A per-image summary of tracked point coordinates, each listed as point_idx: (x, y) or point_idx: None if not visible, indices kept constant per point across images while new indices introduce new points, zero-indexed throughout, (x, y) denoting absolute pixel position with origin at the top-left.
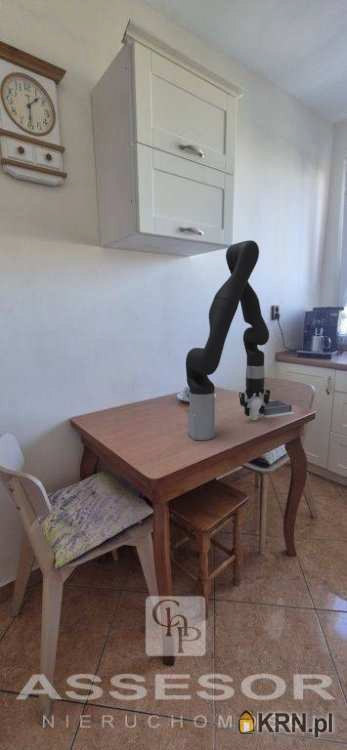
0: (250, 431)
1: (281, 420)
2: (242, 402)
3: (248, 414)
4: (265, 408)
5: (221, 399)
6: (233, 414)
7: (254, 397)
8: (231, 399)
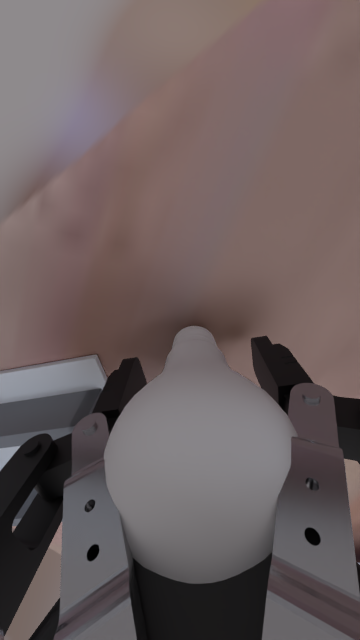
0: (345, 91)
1: (8, 303)
2: None
3: (267, 342)
4: None
5: None
6: None
7: (249, 557)
8: None
